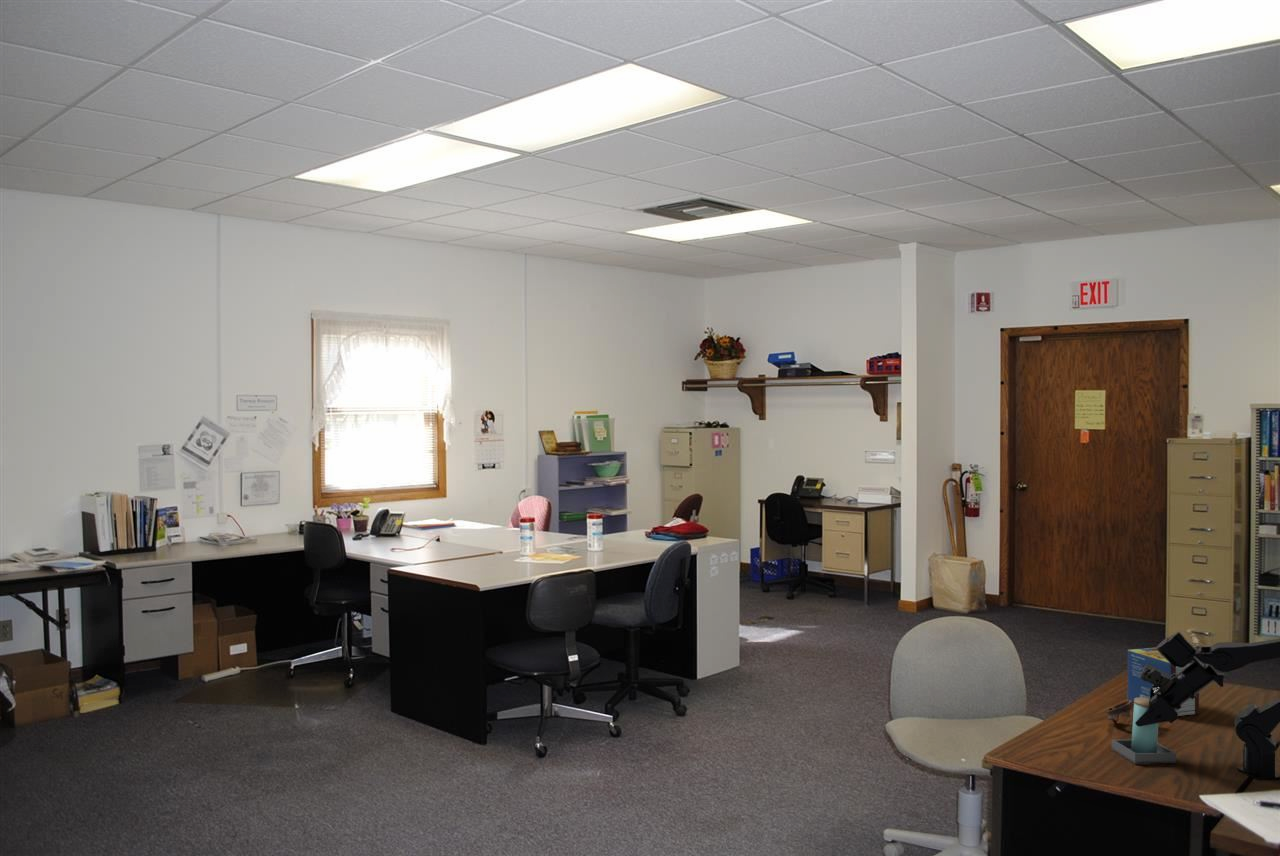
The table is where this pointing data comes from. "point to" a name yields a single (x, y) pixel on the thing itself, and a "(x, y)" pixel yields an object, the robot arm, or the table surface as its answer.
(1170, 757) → the tray
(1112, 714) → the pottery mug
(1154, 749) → the canister
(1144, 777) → the table surface
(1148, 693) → the protein box
